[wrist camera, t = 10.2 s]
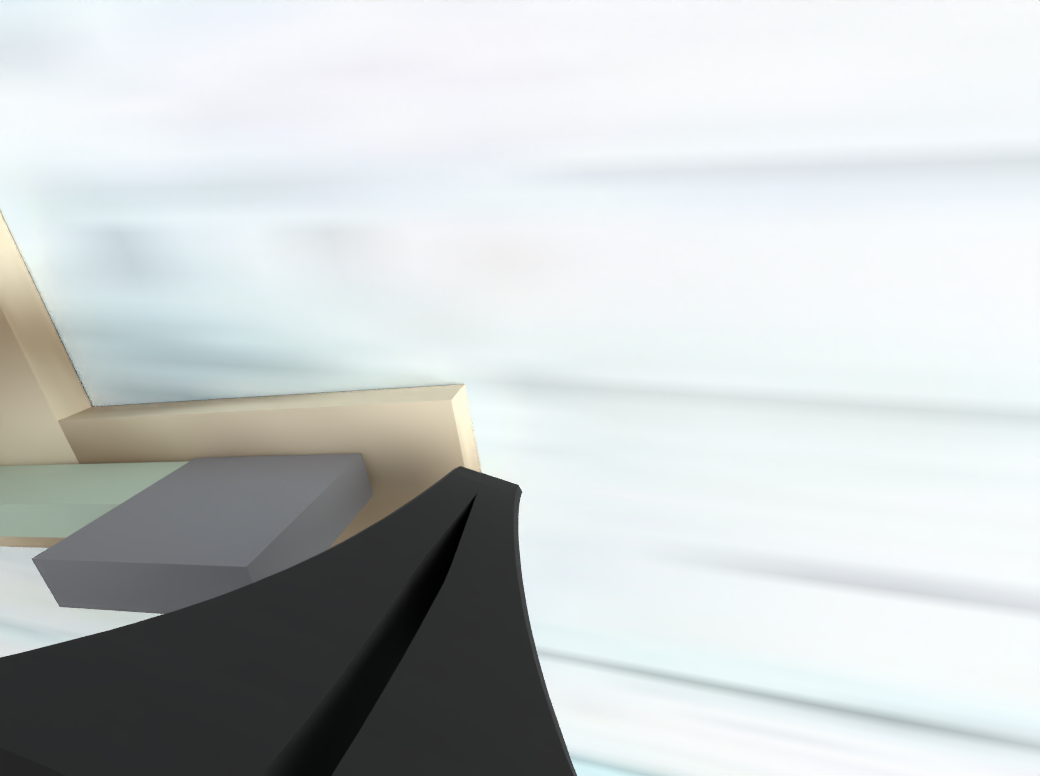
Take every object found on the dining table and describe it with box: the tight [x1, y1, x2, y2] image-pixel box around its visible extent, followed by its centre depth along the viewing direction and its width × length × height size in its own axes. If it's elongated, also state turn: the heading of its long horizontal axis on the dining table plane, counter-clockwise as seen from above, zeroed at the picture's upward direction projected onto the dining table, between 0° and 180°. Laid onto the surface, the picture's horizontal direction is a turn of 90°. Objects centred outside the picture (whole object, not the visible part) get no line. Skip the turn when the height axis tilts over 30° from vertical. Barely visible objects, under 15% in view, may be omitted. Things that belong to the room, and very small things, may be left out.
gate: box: [0, 453, 373, 614], centre depth 12 cm, size 1×14×4 cm, turn 98°
